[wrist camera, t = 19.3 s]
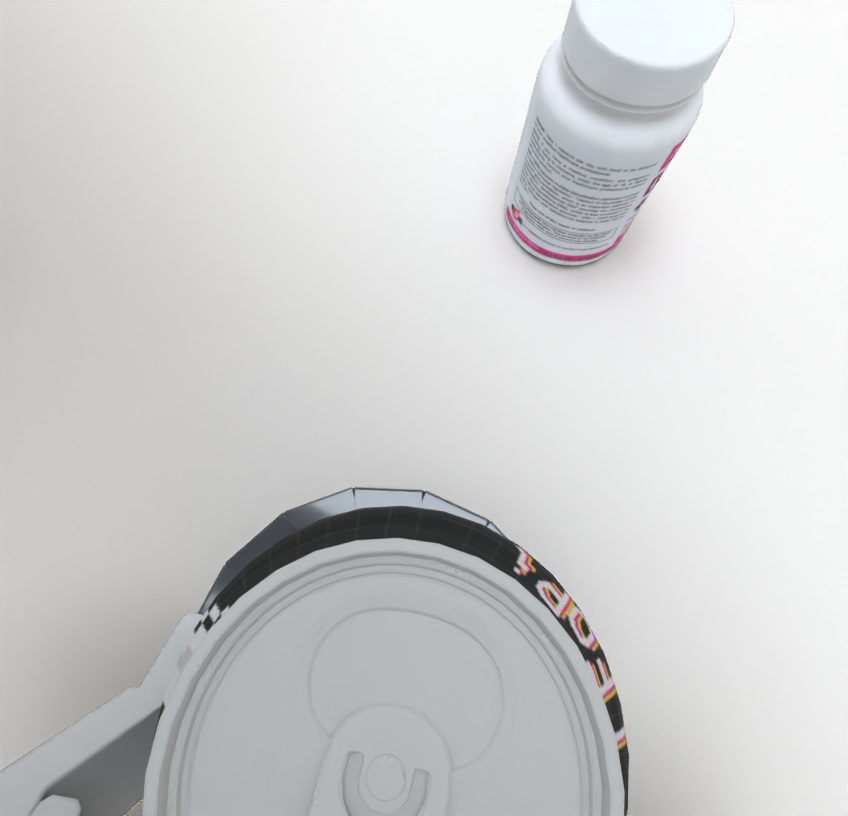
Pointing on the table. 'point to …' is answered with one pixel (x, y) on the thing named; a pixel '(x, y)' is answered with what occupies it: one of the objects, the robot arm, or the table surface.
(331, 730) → the beverage can
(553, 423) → the table surface
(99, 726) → the robot arm
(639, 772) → the table surface
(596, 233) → the pill bottle
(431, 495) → the can holder
